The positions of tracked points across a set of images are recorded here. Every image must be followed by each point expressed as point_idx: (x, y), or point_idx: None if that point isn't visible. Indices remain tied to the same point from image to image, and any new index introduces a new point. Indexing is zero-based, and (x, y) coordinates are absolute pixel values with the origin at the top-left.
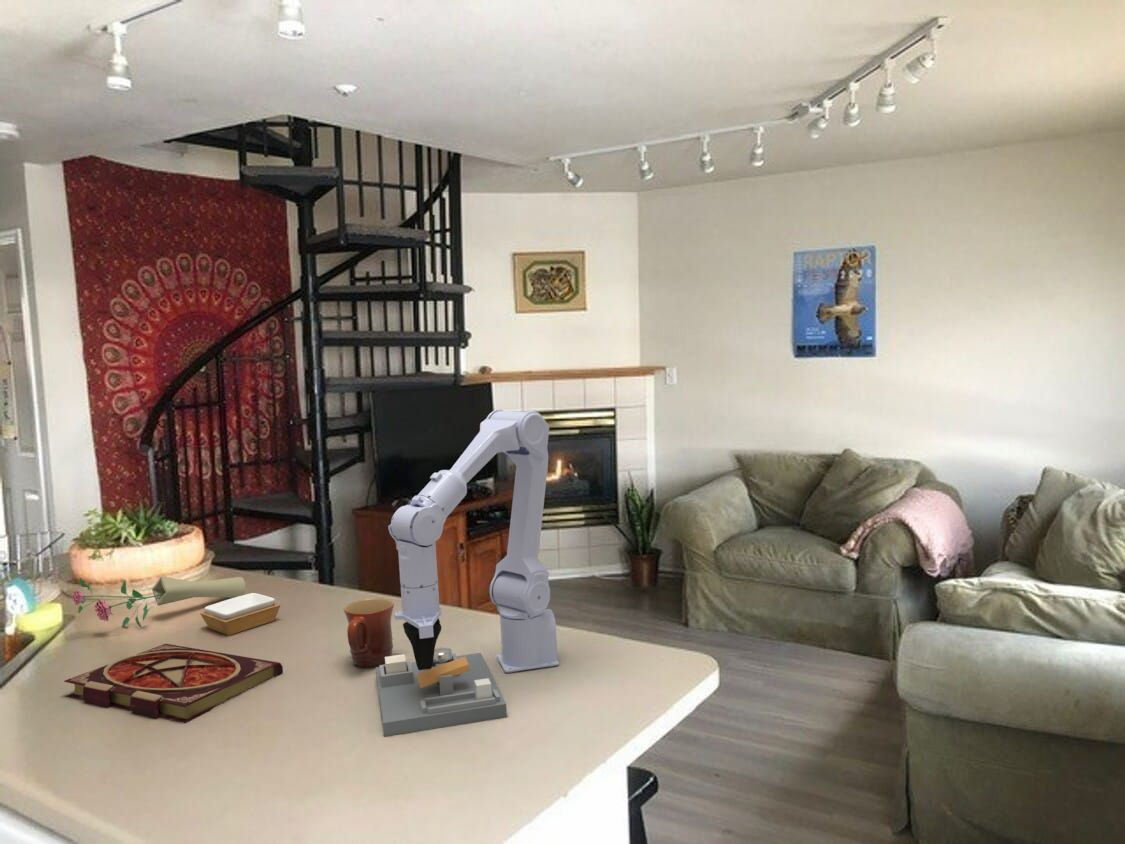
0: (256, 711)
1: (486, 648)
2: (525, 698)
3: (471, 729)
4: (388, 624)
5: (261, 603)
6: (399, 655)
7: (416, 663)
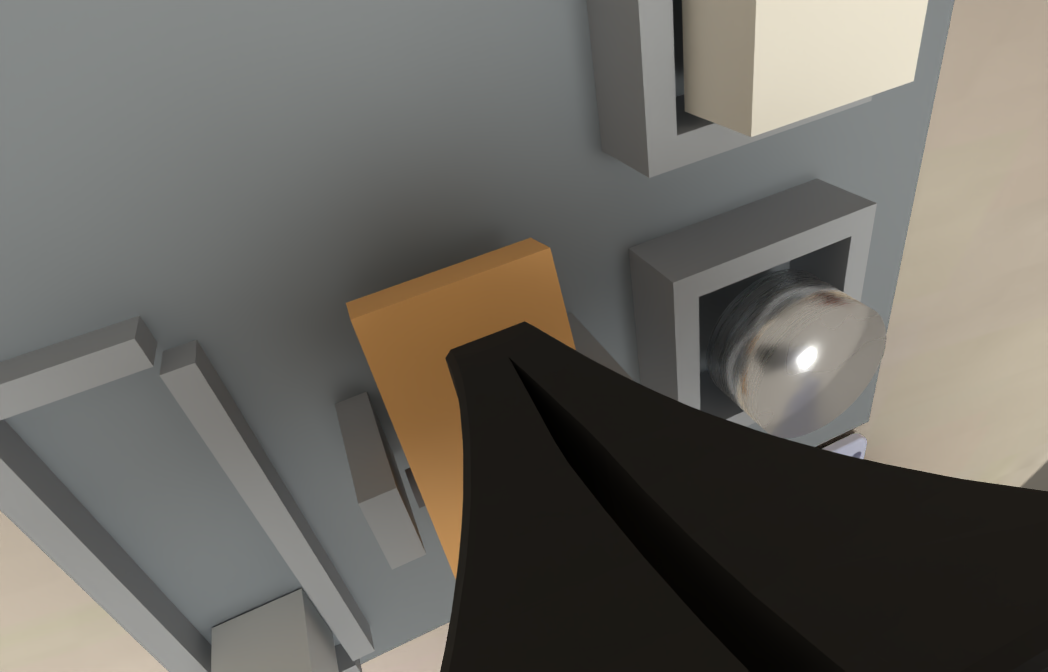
0: None
1: (959, 362)
2: (433, 646)
3: (31, 585)
4: None
5: None
6: (910, 31)
7: (459, 384)
